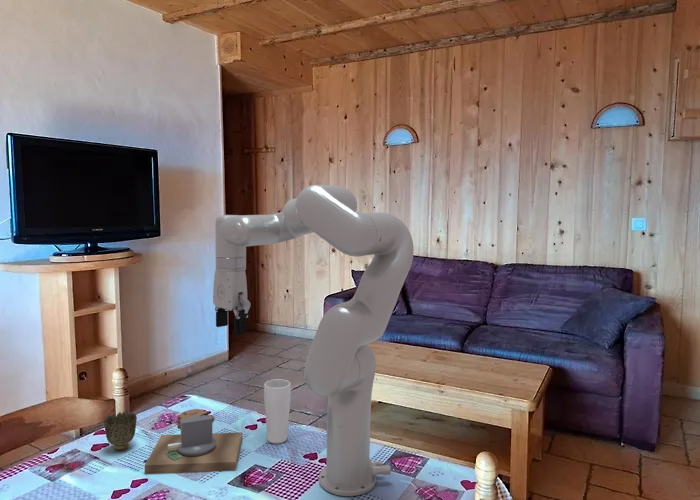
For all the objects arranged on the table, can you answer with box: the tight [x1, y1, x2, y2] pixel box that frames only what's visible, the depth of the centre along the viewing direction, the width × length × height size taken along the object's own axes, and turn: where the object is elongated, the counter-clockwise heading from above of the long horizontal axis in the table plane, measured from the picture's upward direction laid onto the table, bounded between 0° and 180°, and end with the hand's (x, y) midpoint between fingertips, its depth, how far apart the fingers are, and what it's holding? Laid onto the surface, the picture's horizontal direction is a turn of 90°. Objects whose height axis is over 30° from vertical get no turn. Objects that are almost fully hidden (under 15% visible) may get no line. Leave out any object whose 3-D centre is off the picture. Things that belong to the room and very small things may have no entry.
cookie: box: [177, 408, 215, 429], centre depth 141 cm, size 10×11×3 cm
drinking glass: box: [263, 378, 292, 444], centre depth 131 cm, size 7×7×15 cm
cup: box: [103, 411, 138, 452], centre depth 125 cm, size 8×7×8 cm
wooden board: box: [144, 432, 243, 475], centre depth 123 cm, size 20×15×2 cm
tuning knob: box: [168, 414, 216, 456], centre depth 122 cm, size 11×9×7 cm
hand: (231, 329), depth 131 cm, fingers open, 9 cm apart
